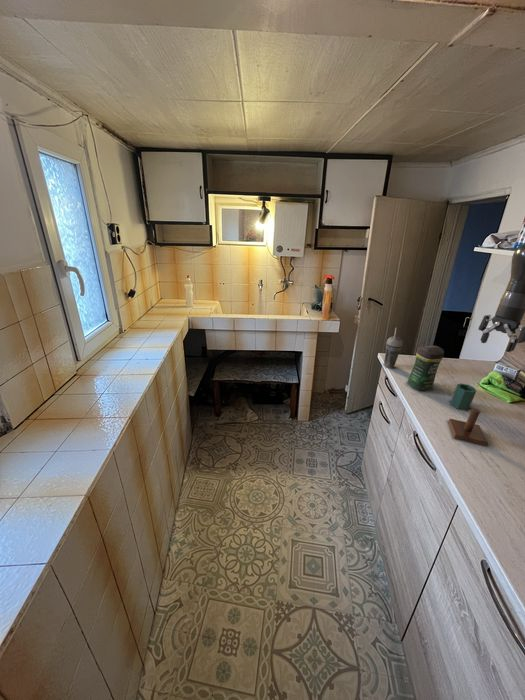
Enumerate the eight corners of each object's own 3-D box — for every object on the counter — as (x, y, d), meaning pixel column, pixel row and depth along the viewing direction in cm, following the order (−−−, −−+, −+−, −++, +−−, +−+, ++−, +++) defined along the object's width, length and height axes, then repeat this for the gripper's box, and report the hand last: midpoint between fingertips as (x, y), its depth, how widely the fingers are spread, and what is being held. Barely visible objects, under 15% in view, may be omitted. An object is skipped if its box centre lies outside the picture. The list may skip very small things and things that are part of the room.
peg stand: (477, 428, 97) (488, 405, 93) (486, 446, 89) (497, 422, 85) (448, 421, 100) (456, 399, 96) (454, 438, 92) (463, 414, 88)
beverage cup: (399, 369, 134) (410, 330, 126) (384, 369, 134) (394, 330, 126) (392, 362, 141) (402, 325, 132) (378, 362, 141) (387, 324, 132)
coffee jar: (417, 392, 116) (430, 352, 108) (403, 383, 123) (415, 344, 115) (435, 389, 119) (449, 350, 111) (421, 380, 126) (433, 342, 118)
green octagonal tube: (466, 402, 111) (473, 385, 107) (470, 411, 106) (478, 393, 102) (449, 399, 113) (456, 382, 109) (452, 407, 108) (459, 389, 104)
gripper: (544, 309, 93) (523, 353, 100) (497, 298, 105) (481, 338, 111) (531, 311, 90) (510, 356, 97) (485, 300, 102) (469, 341, 109)
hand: (495, 346), depth 104 cm, fingers open, 8 cm apart
